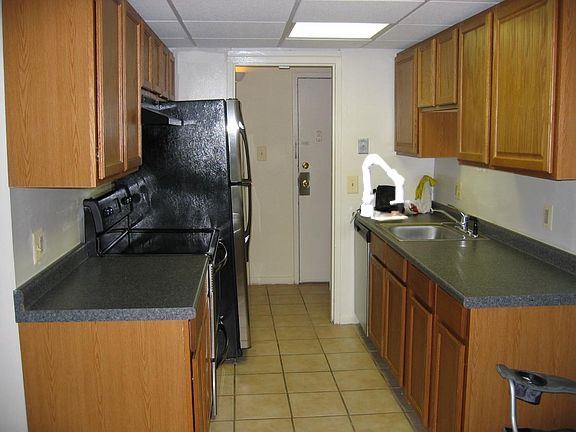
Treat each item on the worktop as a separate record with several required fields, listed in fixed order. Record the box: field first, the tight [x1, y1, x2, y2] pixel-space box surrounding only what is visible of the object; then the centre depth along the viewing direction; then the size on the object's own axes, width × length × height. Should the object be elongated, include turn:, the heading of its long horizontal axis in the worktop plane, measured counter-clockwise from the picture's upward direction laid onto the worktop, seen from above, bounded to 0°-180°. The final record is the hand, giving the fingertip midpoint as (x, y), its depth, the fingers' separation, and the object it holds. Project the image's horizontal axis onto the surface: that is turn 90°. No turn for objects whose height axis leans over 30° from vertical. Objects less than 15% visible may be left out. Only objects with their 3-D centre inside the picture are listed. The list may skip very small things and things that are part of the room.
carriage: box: [391, 210, 403, 215], centre depth 439 cm, size 10×3×3 cm, turn 23°
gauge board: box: [370, 210, 409, 222], centre depth 437 cm, size 13×22×5 cm, turn 113°
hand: (399, 213), depth 443 cm, fingers closed
